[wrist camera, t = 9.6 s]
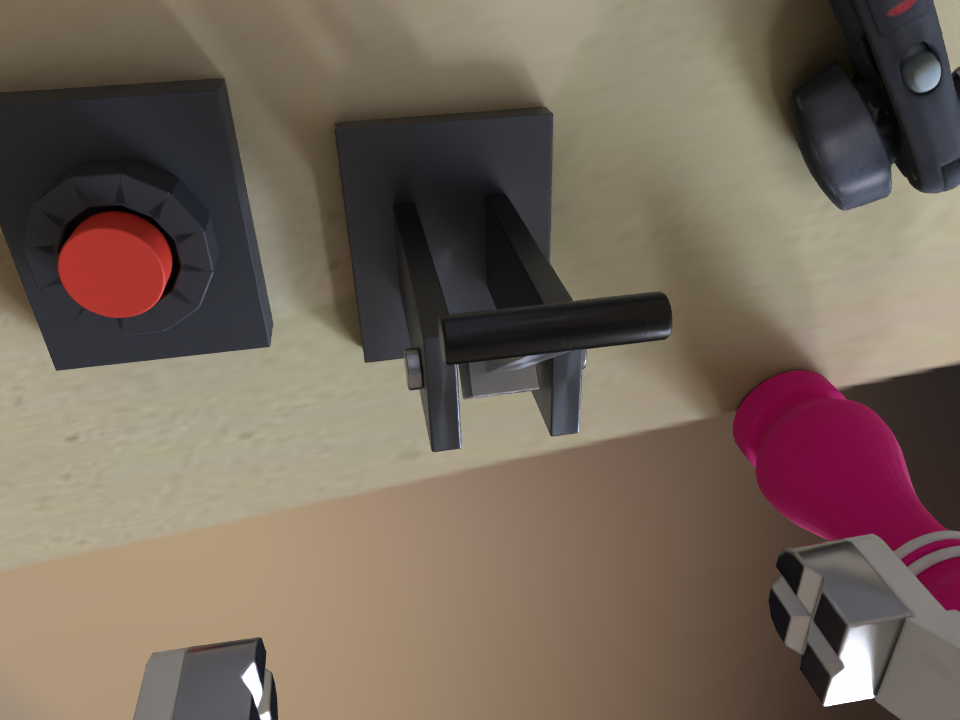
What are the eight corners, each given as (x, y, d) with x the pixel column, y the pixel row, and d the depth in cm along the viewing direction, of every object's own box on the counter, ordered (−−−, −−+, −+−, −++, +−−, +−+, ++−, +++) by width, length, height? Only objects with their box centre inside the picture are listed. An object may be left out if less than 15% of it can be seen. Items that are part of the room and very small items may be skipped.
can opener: (940, 137, 36) (1032, 172, 32) (808, 211, 37) (878, 256, 32) (865, -289, 27) (981, -329, 22) (691, -176, 28) (767, -192, 23)
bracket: (334, 122, 31) (340, 239, 20) (546, 106, 32) (657, 209, 22) (363, 350, 37) (380, 535, 26) (542, 330, 38) (629, 499, 27)
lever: (436, 280, 16) (450, 395, 15) (665, 257, 16) (681, 366, 16) (415, 336, 26) (423, 404, 26) (552, 321, 27) (561, 387, 27)
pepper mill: (860, 409, 45) (1182, 714, 28) (761, 482, 47) (1008, 810, 30) (806, 338, 41) (1136, 638, 25) (700, 419, 43) (942, 752, 26)
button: (57, 214, 28) (42, 232, 26) (159, 206, 28) (150, 223, 27) (87, 302, 29) (74, 323, 28) (182, 292, 30) (175, 313, 28)
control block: (-22, 93, 28) (-69, 119, 25) (224, 78, 30) (211, 100, 26) (70, 345, 34) (42, 394, 31) (273, 323, 35) (267, 368, 32)
